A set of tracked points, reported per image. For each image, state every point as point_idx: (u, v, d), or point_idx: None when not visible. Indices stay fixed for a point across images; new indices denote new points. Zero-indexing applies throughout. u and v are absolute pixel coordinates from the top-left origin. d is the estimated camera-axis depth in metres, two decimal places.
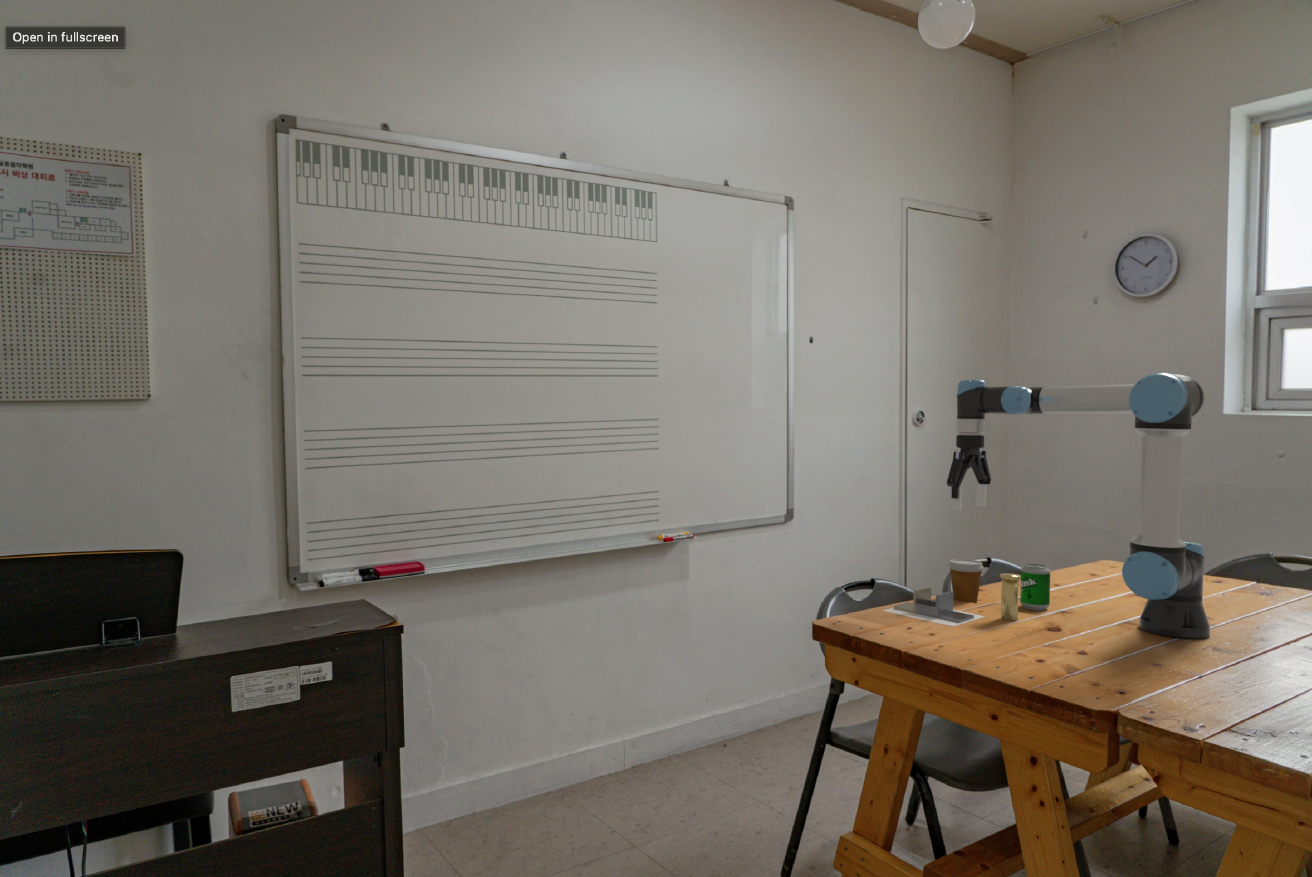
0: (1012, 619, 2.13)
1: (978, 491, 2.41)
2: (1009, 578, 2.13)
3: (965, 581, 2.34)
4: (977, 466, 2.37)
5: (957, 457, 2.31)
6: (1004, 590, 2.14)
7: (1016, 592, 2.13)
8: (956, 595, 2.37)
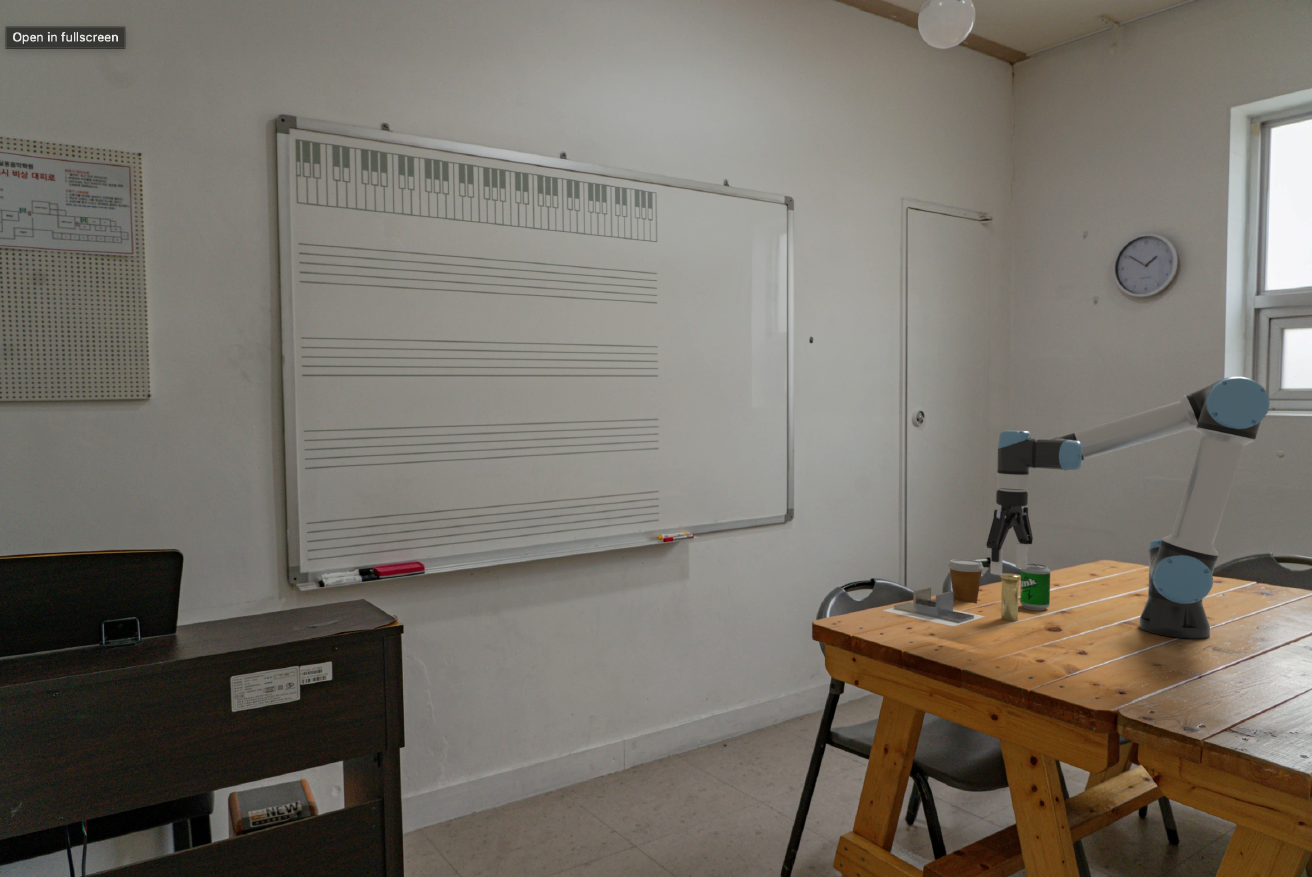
0: (1012, 619, 2.13)
1: (1019, 551, 2.19)
2: (1009, 578, 2.13)
3: (965, 581, 2.34)
4: (1019, 525, 2.16)
5: (998, 516, 2.10)
6: (1004, 590, 2.14)
7: (1016, 592, 2.13)
8: (956, 595, 2.37)
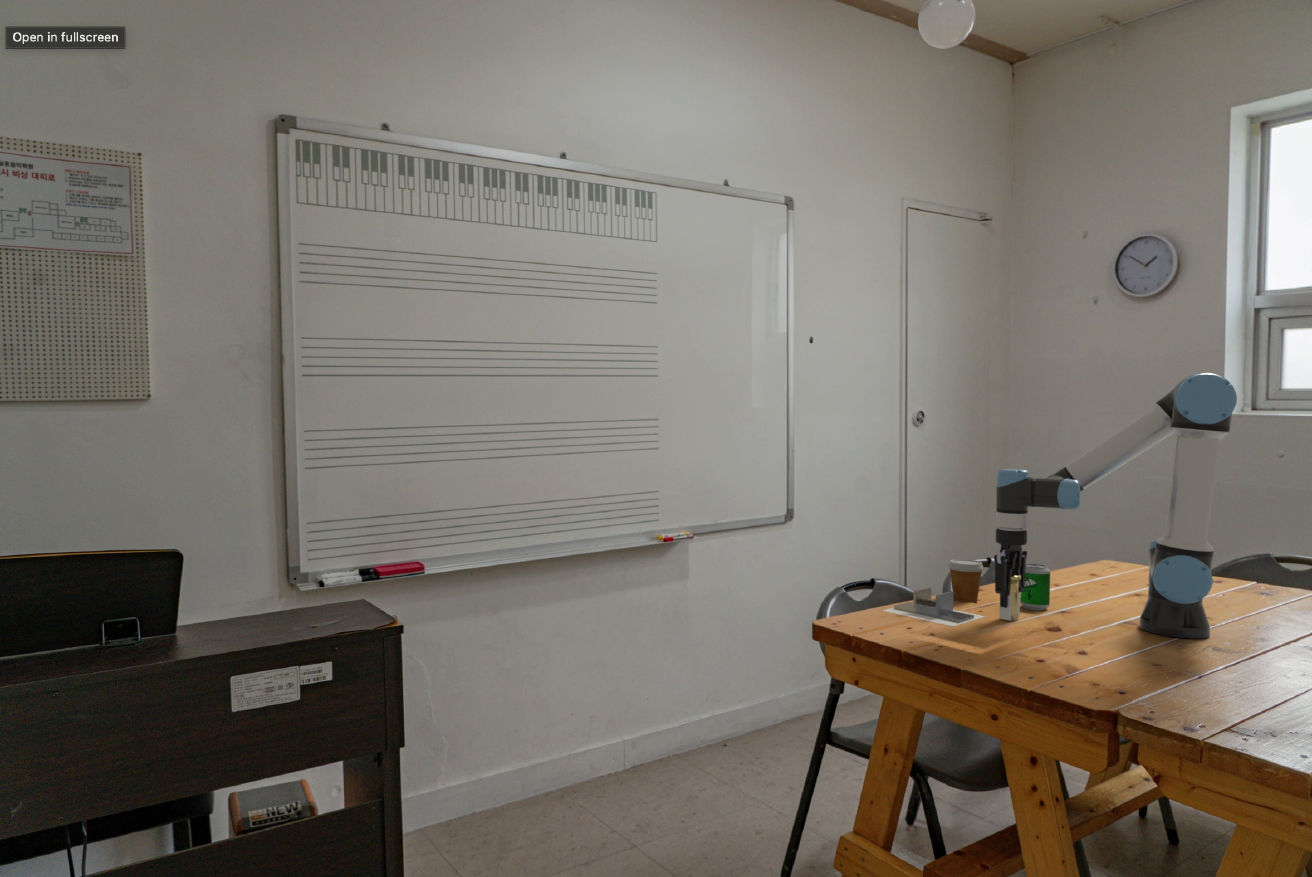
0: (1012, 619, 2.13)
1: None
2: None
3: (965, 581, 2.34)
4: (1016, 565, 2.15)
5: (999, 562, 2.11)
6: None
7: (1016, 592, 2.13)
8: (956, 595, 2.37)
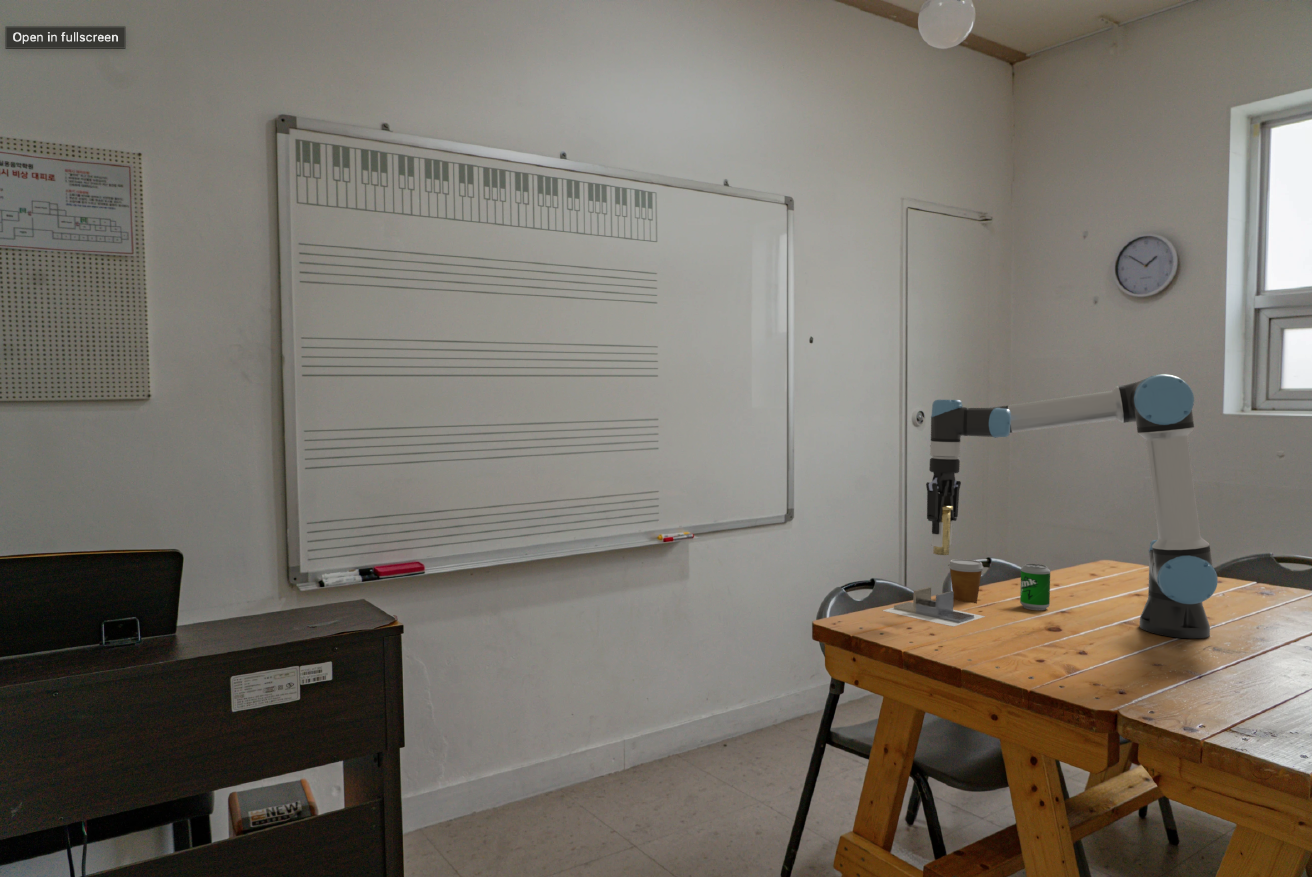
0: (943, 548, 2.18)
1: None
2: None
3: (965, 581, 2.34)
4: (948, 494, 2.20)
5: (931, 489, 2.15)
6: None
7: (948, 522, 2.18)
8: (956, 595, 2.37)
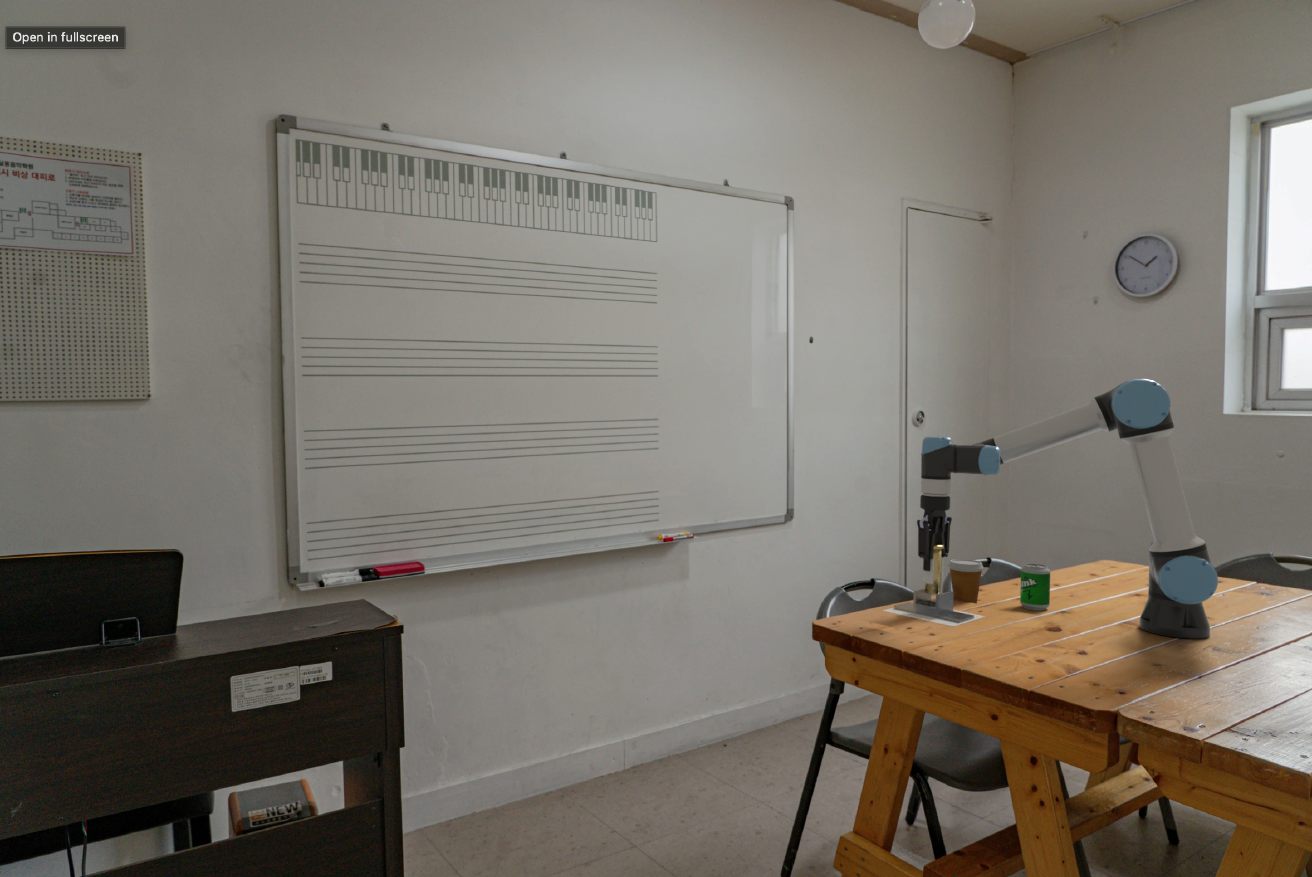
0: (934, 587, 2.19)
1: None
2: None
3: (965, 581, 2.34)
4: (939, 531, 2.20)
5: (922, 527, 2.16)
6: None
7: (939, 561, 2.19)
8: (956, 595, 2.37)
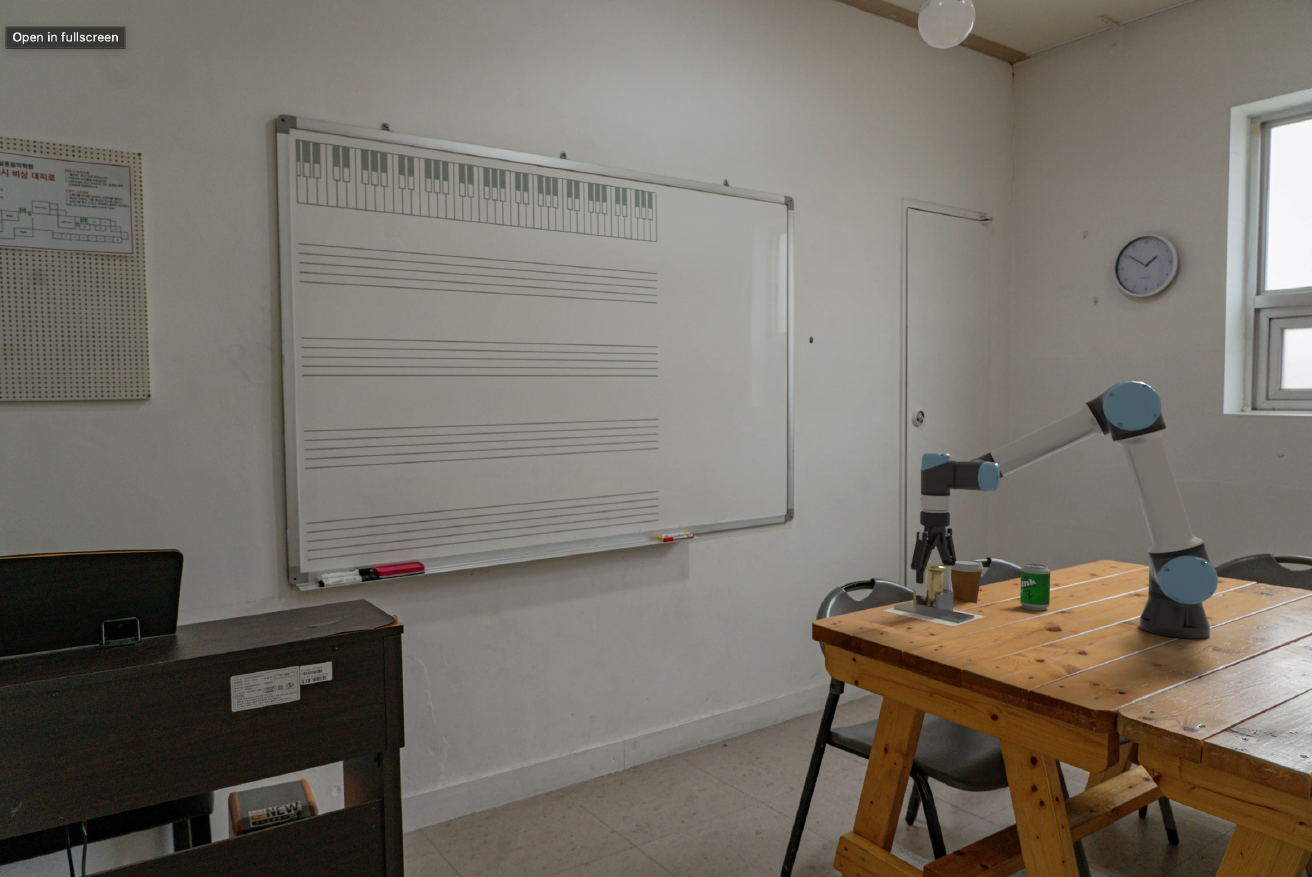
0: None
1: None
2: (934, 568, 2.18)
3: (965, 581, 2.34)
4: (942, 545, 2.21)
5: (920, 538, 2.16)
6: (929, 580, 2.19)
7: (940, 582, 2.19)
8: (956, 595, 2.37)
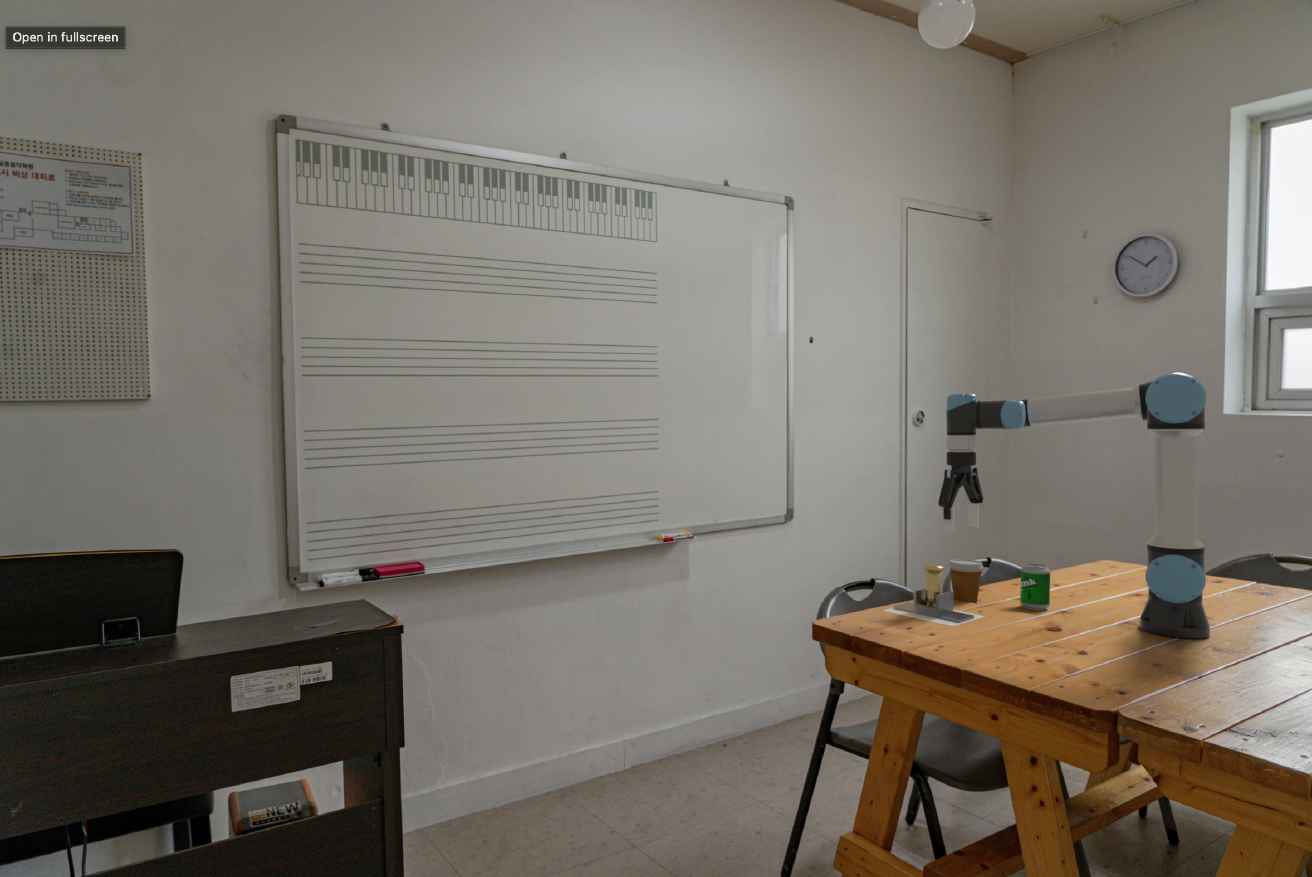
0: None
1: (971, 511, 2.29)
2: (932, 569, 2.18)
3: (965, 581, 2.34)
4: (969, 484, 2.25)
5: (948, 476, 2.19)
6: (928, 580, 2.20)
7: (939, 582, 2.19)
8: (956, 595, 2.37)
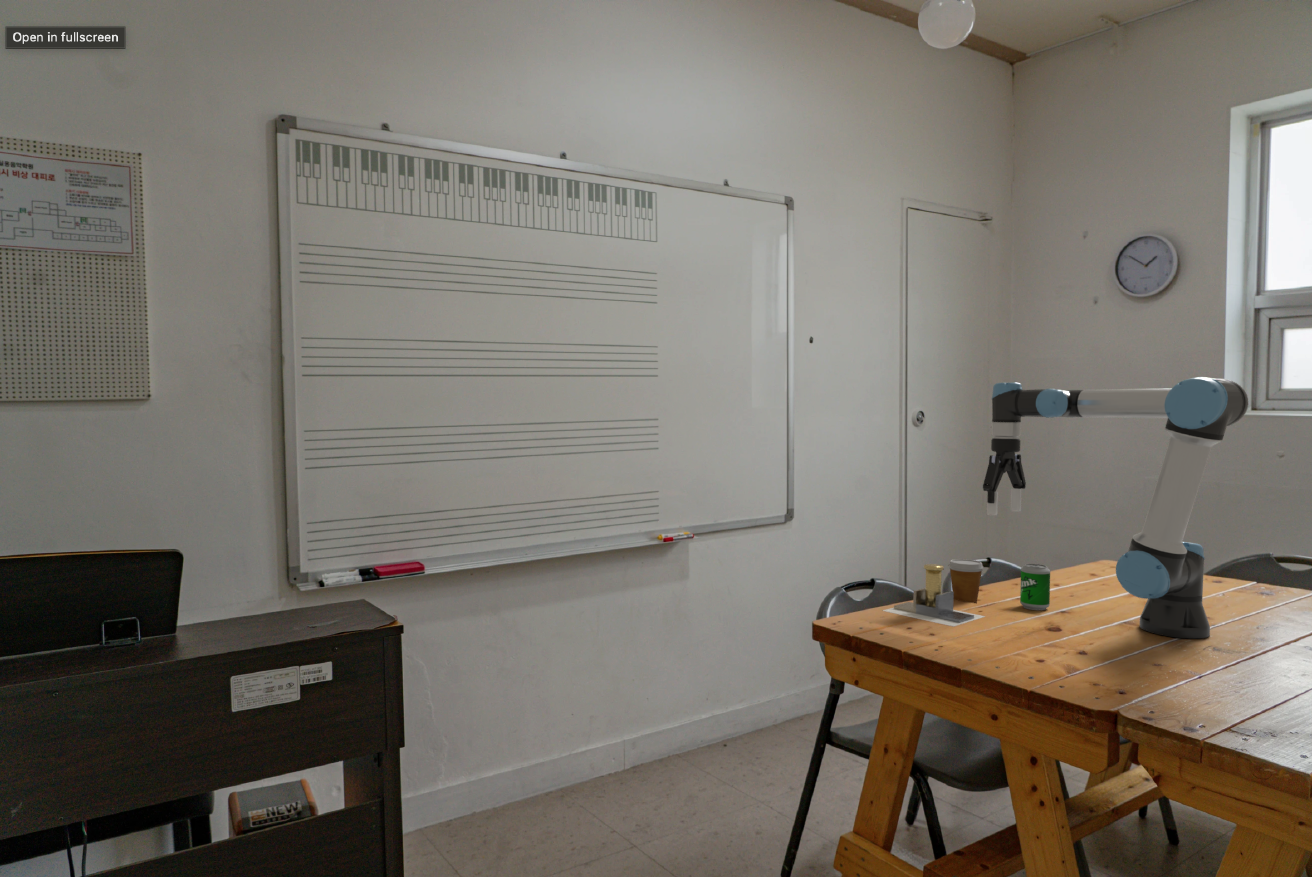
0: None
1: (1013, 496, 2.37)
2: (932, 569, 2.18)
3: (965, 581, 2.34)
4: (1012, 470, 2.33)
5: (993, 461, 2.27)
6: (928, 580, 2.20)
7: (939, 582, 2.19)
8: (956, 595, 2.37)
